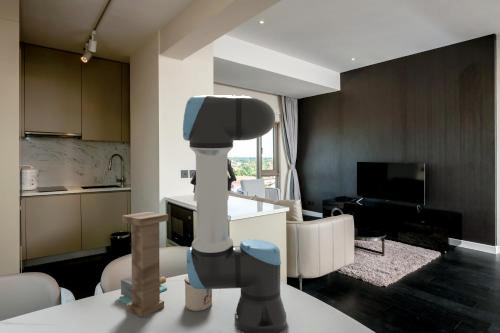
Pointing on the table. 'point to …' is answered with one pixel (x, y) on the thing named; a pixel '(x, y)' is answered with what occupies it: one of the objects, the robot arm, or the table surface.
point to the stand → (145, 262)
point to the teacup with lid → (197, 297)
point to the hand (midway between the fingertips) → (210, 200)
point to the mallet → (127, 286)
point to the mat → (128, 300)
